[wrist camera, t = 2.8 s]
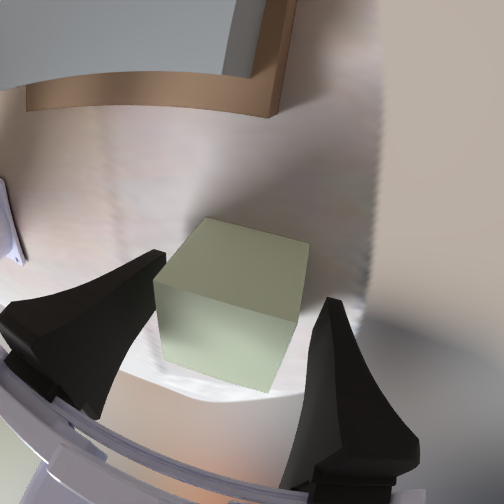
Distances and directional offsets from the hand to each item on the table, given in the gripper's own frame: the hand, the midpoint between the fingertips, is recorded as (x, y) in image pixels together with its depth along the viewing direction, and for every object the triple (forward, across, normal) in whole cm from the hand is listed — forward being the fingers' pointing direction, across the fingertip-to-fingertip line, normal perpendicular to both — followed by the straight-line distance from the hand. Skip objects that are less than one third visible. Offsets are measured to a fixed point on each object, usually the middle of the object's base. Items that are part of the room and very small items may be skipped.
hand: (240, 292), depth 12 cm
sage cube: (+2, 0, 0) cm, 2 cm away
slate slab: (0, +6, -12) cm, 14 cm away
